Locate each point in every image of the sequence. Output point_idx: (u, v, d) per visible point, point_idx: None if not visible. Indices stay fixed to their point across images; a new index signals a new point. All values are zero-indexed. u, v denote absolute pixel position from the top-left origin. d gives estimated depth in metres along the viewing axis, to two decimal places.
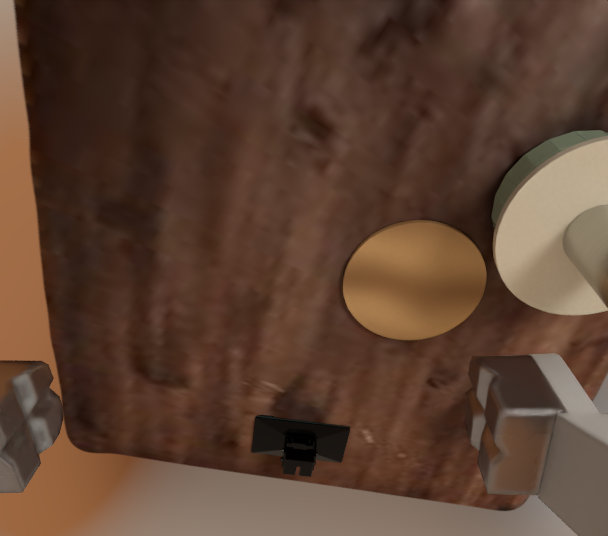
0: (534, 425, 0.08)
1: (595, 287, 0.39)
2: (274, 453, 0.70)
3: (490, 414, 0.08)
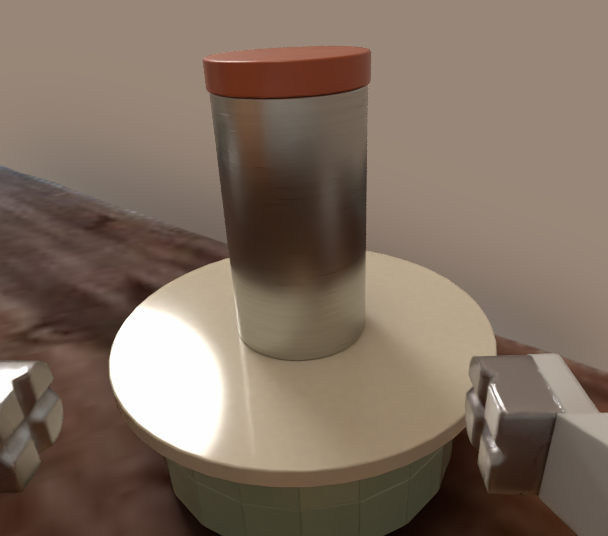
0: (533, 424, 0.08)
1: (278, 216, 0.18)
2: None
3: (490, 414, 0.08)
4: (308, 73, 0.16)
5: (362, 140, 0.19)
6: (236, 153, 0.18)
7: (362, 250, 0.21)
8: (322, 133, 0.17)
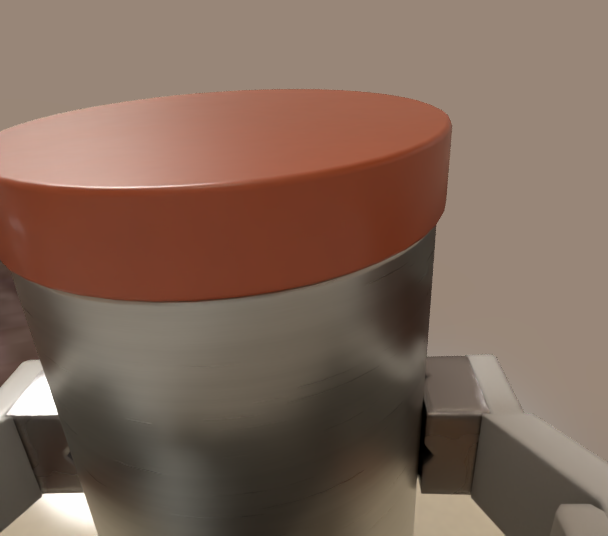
0: (462, 425, 0.08)
1: None
2: None
3: (422, 414, 0.08)
4: (262, 227, 0.04)
5: (422, 349, 0.07)
6: (70, 412, 0.06)
7: None
8: (314, 383, 0.06)
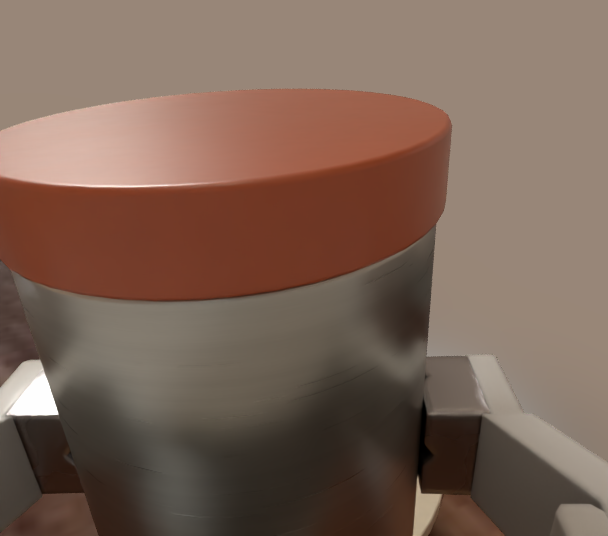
0: (462, 425, 0.08)
1: None
2: None
3: (422, 414, 0.08)
4: (262, 225, 0.04)
5: (422, 348, 0.07)
6: (70, 412, 0.06)
7: None
8: (315, 382, 0.06)
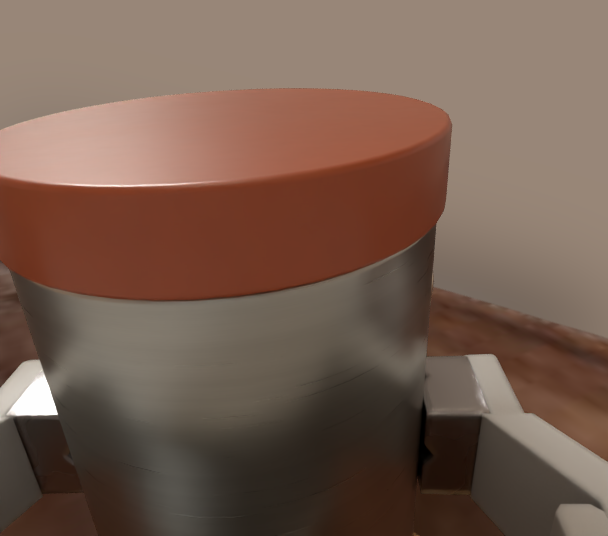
0: (462, 425, 0.08)
1: None
2: None
3: None
4: (261, 225, 0.04)
5: (422, 348, 0.07)
6: (69, 412, 0.06)
7: None
8: (314, 383, 0.06)
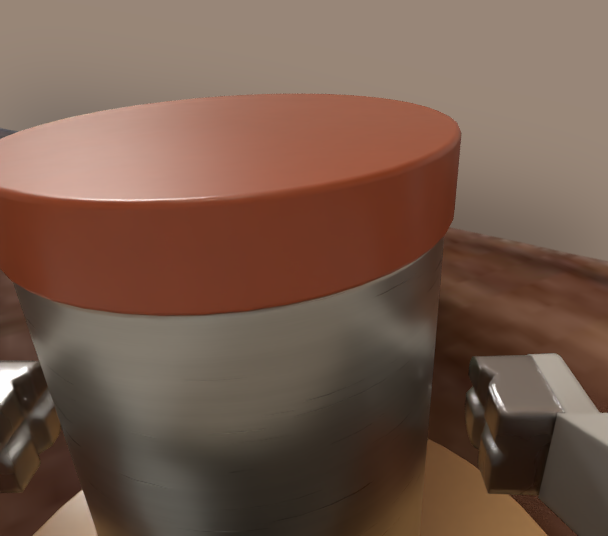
0: (533, 425, 0.08)
1: None
2: None
3: (490, 414, 0.08)
4: (270, 239, 0.04)
5: (429, 359, 0.07)
6: (73, 424, 0.06)
7: None
8: (322, 397, 0.05)
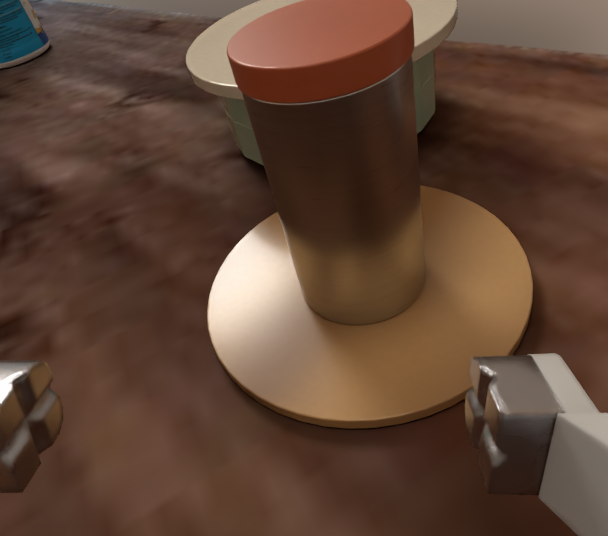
0: (533, 425, 0.08)
1: (327, 209, 0.18)
2: None
3: (490, 414, 0.08)
4: (343, 71, 0.14)
5: (410, 115, 0.17)
6: (277, 152, 0.17)
7: (418, 217, 0.20)
8: (364, 126, 0.16)
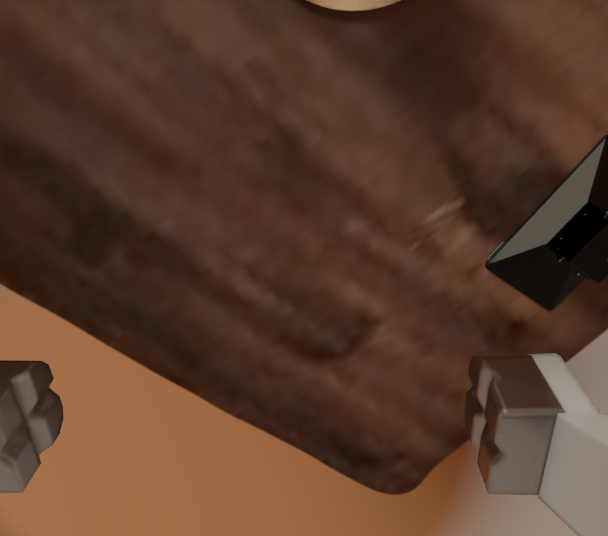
0: (533, 424, 0.08)
1: None
2: (576, 282, 0.40)
3: (490, 414, 0.08)
4: None
5: None
6: None
7: None
8: None
